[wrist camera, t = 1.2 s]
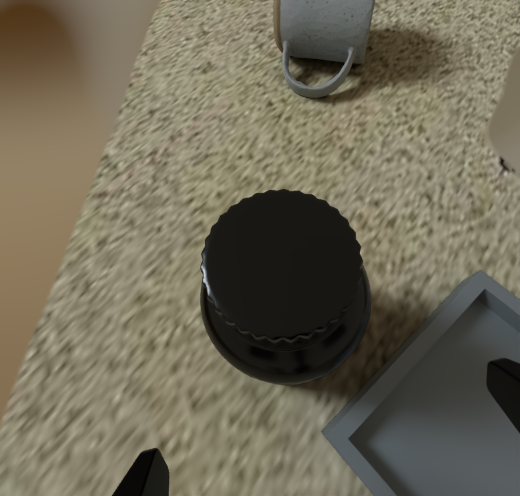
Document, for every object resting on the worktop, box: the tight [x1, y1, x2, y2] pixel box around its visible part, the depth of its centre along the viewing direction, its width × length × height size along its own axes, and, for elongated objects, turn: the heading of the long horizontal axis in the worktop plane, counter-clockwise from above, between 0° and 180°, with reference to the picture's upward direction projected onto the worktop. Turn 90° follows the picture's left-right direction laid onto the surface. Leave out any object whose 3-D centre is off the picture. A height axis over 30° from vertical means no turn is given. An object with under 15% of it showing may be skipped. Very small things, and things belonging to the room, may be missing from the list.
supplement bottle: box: [200, 189, 371, 385], centre depth 14 cm, size 7×7×12 cm
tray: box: [321, 270, 520, 496], centre depth 16 cm, size 13×13×2 cm
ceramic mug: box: [273, 0, 375, 98], centre depth 26 cm, size 11×8×8 cm
